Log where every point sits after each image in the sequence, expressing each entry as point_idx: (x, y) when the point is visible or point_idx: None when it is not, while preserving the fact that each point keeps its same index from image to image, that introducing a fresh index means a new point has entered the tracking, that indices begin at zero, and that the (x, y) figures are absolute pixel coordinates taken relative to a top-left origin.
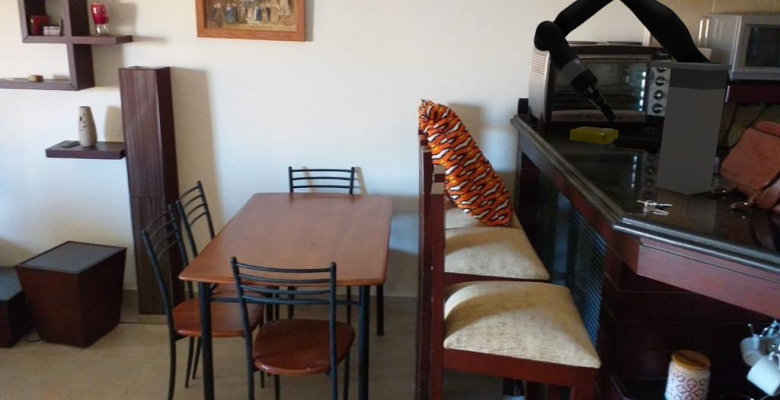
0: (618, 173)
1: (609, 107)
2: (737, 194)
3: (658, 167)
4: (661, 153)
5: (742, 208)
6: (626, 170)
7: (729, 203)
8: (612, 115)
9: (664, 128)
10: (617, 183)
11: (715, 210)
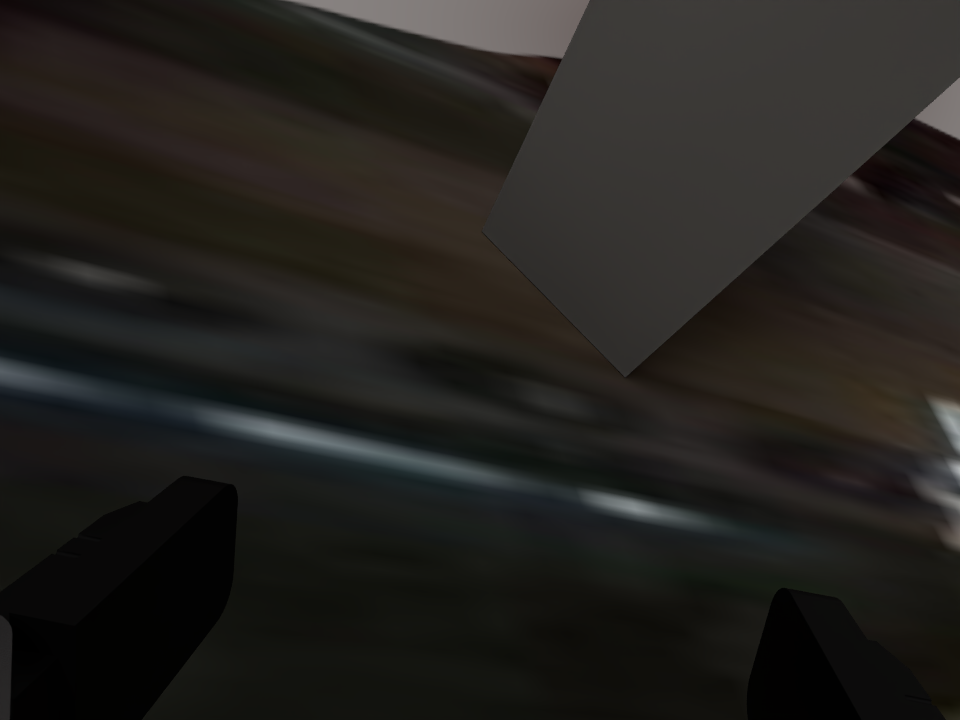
0: (254, 541)
1: (905, 698)
2: None
3: (686, 321)
4: (751, 263)
5: None
6: (109, 453)
7: None
8: (200, 546)
9: (901, 128)
10: (614, 601)
11: (931, 258)
